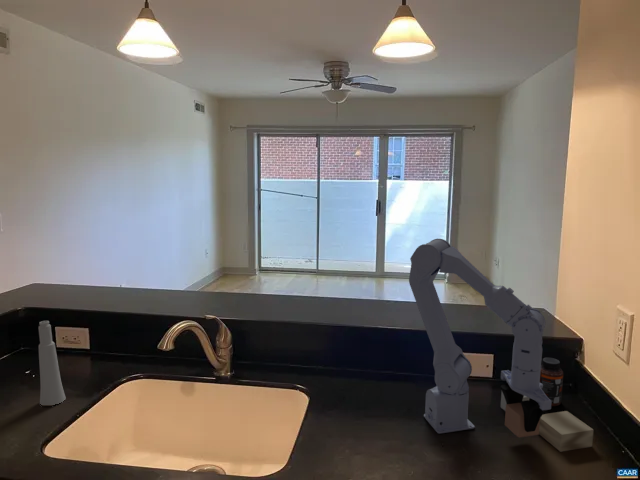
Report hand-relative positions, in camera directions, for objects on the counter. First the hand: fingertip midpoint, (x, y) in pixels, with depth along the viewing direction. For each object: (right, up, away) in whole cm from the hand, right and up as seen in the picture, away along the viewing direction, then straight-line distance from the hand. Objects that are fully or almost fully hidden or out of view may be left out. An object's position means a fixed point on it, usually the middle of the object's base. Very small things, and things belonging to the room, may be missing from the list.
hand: (521, 423), depth 104 cm
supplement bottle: (+15, -2, +18) cm, 23 cm away
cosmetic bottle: (-115, -2, +21) cm, 117 cm away
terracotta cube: (0, -1, 0) cm, 2 cm away
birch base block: (+10, -4, +2) cm, 11 cm away
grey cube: (+4, -2, +14) cm, 15 cm away
